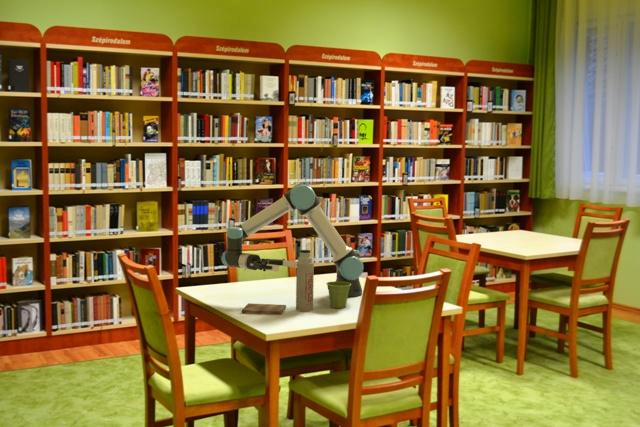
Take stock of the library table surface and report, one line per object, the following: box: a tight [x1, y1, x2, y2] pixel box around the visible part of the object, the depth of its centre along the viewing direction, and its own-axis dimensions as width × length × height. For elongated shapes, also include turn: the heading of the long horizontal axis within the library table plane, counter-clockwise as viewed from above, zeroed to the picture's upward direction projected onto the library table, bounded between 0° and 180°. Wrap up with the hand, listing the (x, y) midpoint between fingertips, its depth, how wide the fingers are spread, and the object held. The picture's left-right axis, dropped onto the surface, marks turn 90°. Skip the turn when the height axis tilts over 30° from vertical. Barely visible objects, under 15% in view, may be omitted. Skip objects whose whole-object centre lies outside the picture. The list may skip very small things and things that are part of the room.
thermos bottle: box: [295, 249, 315, 313], centre depth 348 cm, size 8×8×28 cm
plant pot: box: [326, 280, 351, 309], centre depth 356 cm, size 12×12×11 cm
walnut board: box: [241, 302, 287, 316], centre depth 347 cm, size 18×14×2 cm
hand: (286, 266), depth 353 cm, fingers open, 13 cm apart
